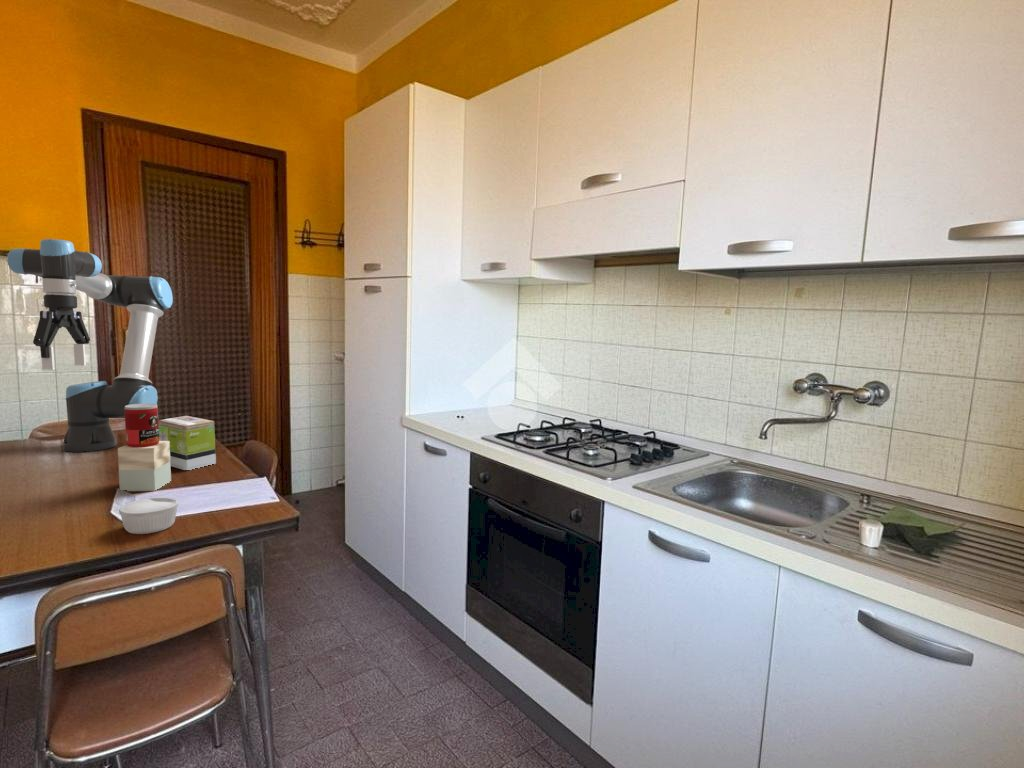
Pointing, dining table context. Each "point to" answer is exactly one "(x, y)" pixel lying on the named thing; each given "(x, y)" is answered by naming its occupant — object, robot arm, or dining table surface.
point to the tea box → (189, 441)
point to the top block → (144, 456)
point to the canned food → (141, 425)
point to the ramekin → (149, 515)
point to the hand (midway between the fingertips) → (65, 367)
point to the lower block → (145, 478)
